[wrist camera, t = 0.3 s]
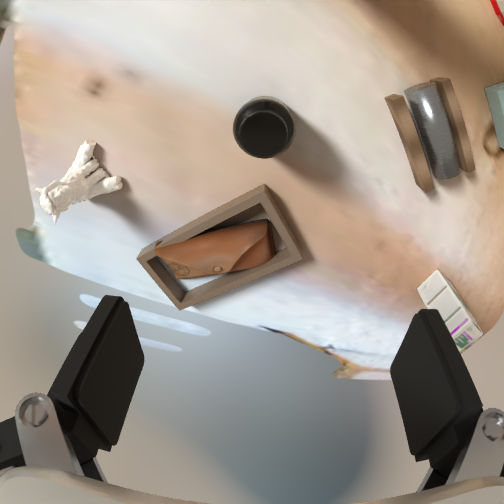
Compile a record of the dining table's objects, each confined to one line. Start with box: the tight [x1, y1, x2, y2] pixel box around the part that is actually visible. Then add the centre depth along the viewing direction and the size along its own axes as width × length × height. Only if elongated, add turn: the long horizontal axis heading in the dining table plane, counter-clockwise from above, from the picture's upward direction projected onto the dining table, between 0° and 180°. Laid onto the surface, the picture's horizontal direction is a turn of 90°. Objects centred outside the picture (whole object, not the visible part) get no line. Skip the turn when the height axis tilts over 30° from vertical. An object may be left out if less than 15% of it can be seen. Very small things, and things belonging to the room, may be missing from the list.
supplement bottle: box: [233, 96, 295, 159], centre depth 34 cm, size 7×7×12 cm
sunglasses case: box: [155, 219, 276, 279], centre depth 49 cm, size 18×7×7 cm, turn 104°
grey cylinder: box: [404, 82, 462, 179], centre depth 36 cm, size 13×5×5 cm, turn 29°
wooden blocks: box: [385, 77, 475, 192], centre depth 36 cm, size 14×10×4 cm
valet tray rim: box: [136, 184, 303, 310], centre depth 49 cm, size 12×23×3 cm, turn 119°
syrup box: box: [417, 269, 483, 354], centre depth 46 cm, size 6×6×14 cm
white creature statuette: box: [35, 140, 123, 224], centre depth 39 cm, size 10×9×12 cm
